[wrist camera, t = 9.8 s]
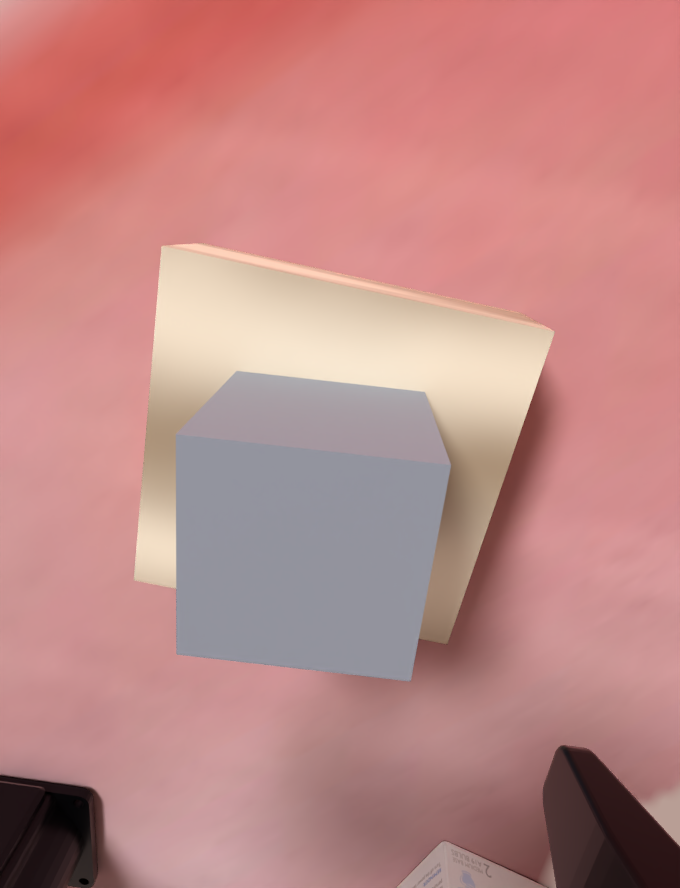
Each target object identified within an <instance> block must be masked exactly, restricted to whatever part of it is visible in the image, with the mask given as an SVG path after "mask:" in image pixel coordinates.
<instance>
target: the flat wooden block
mask: <svg viewBox="0 0 680 888" xmlns="http://www.w3.org/2000/svg"><path fill="white" fill-rule="evenodd" d="M554 333H555V331H553V330H551V329H549V328H547V327H546V326H544V325H542V324H540V323H538V322H536V321H535V320H533V319H531V318H529V317H527V316H525V315H524V314H522V313H519V312H515V311H510V310H506V309H501V308H497V307H492V306H488V305H483V304H478V303H474V302H469V301H465V300H460V299H456V298H451V297H446V296H442V295H437V294H433V293H428V292H424V291H419V290H414V289H410V288H405V287H401V286H396V285H392V284H387V283H382V282H378V281H373V280H369V279H364V278H360V277H355V276H350V275H346V274H341V273H337V272H332V271H328V270H323V269H318V268H314V267H309V266H305V265H300V264H296V263H291V262H286V261H282V260H277V259H273V258H268V257H264V256H259V255H254V254H250V253H245V252H241V251H236V250H232V249H227V248H223V247H218V246H213V245H209V244H204V243H198V244H182V245H167V246H162V248H161V260H160V272H159V284H158V296H157V308H156V319H155V331H154V343H153V355H152V367H151V379H150V391H149V403H148V415H147V427H146V439H145V451H144V463H143V475H142V487H141V499H140V511H139V523H138V535H137V547H136V559H135V571H134V580H136V581H140V582H145V583H150V584H155V585H160V586H165V587H170V588H174V589H176V433H177V432H178V431H179V430H180V429H181V428H182V427H183V426H184V425H185V424H186V423H187V422H188V421H189V420H190V419H191V418H192V417H193V416H194V415H195V414H196V413H197V412H198V411H199V410H200V409H201V407H202V406H203V405H204V404H205V403H206V402H207V401H208V400H209V399H210V398H211V397H212V396H213V395H214V394H215V393H216V392H217V391H218V390H219V389H220V388H221V387H222V386H223V385H224V384H225V383H226V382H227V380H228V379H229V378H230V377H231V376H232V375H233V374H234V373H235V372H236V371H242V372H251V373H260V374H269V375H278V376H287V377H296V378H305V379H314V380H323V381H332V382H341V383H350V384H359V385H368V386H377V387H386V388H395V389H403V390H412V391H421V392H425V394H426V396H427V399H428V402H429V405H430V408H431V410H432V413H433V416H434V419H435V421H436V424H437V427H438V430H439V433H440V435H441V438H442V441H443V444H444V447H445V449H446V452H447V455H448V458H449V461H450V463H451V468H450V474H449V479H448V484H447V490H446V495H445V501H444V506H443V511H442V517H441V522H440V527H439V533H438V538H437V543H436V549H435V554H434V559H433V565H432V570H431V575H430V581H429V586H428V591H427V597H426V602H425V607H424V613H423V618H422V623H421V629H420V634H419V639H422V640H427V641H432V642H437V643H442V644H448V641H449V638H450V635H451V632H452V629H453V626H454V623H455V621H456V618H457V615H458V612H459V609H460V606H461V603H462V600H463V597H464V594H465V591H466V589H467V586H468V583H469V580H470V577H471V574H472V571H473V568H474V565H475V562H476V560H477V557H478V554H479V551H480V548H481V545H482V542H483V539H484V536H485V533H486V531H487V528H488V525H489V522H490V519H491V516H492V513H493V510H494V507H495V504H496V501H497V499H498V496H499V493H500V490H501V487H502V484H503V481H504V478H505V475H506V472H507V470H508V467H509V464H510V461H511V458H512V455H513V452H514V449H515V446H516V443H517V440H518V438H519V435H520V432H521V429H522V426H523V423H524V420H525V417H526V414H527V411H528V409H529V406H530V403H531V400H532V397H533V394H534V391H535V388H536V385H537V382H538V379H539V377H540V374H541V371H542V368H543V365H544V362H545V359H546V356H547V353H548V350H549V348H550V345H551V342H552V339H553V336H554Z"/></svg>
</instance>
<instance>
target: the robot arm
mask: <svg viewBox="0 0 680 888" xmlns="http://www.w3.org/2000/svg"><path fill="white" fill-rule="evenodd" d="M543 806H544V812H545V818H546V825H547V831H548V837H549V844H550V850H551V856H552V862H553V869H554V875H555V881H556V888H680V846H679V845H678V844H677V843H676V842H675V841H674V840H673V839H672V838H671V836H670V835H669V834H668V833H667V832H666V831H665V830H664V829H663V828H662V827H661V826H660V825H659V823H658V822H657V821H656V820H655V819H654V818H653V817H652V816H651V815H650V814H649V813H648V811H647V810H646V809H645V808H644V807H643V806H642V805H641V804H640V803H639V802H638V800H637V799H636V798H635V797H634V796H633V795H632V794H631V793H630V792H629V791H628V790H627V789H626V787H625V786H624V785H623V784H622V783H621V782H620V781H619V780H618V779H617V778H616V777H615V775H614V774H613V773H612V772H611V771H610V770H609V769H608V768H607V767H606V766H605V765H604V763H603V762H602V761H601V760H600V759H599V758H598V757H597V756H596V755H595V754H594V753H593V752H592V751H590V750H589V749H586V748H581V747H573V746H566V745H562V746H560V747H559V748H558V749H557V750H556V752H555V755H554V758H553V761H552V763H551V766H550V769H549V772H548V775H547V778H546V780H545V783H544V788H543ZM97 875H98V871H97V853H96V836H95V818H94V801H93V795H92V793H91V792H90V791H89V790H87V789H85V788H80V787H73V786H66V785H59V784H52V783H45V782H37V781H30V780H23V779H16V778H9V777H2V776H0V888H67V886H74V887H81V888H90V887H92V886H93V885H94V883H95V880H96V878H97Z"/></svg>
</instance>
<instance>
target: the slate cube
mask: <svg viewBox="0 0 680 888" xmlns="http://www.w3.org/2000/svg"><path fill="white" fill-rule="evenodd" d="M450 468H451V463H450V461H449V458H448V455H447V452H446V449H445V447H444V444H443V441H442V438H441V435H440V433H439V430H438V427H437V424H436V421H435V419H434V416H433V413H432V410H431V408H430V405H429V402H428V399H427V396H426V394H425V392H421V391H412V390H403V389H395V388H386V387H377V386H368V385H359V384H350V383H341V382H332V381H323V380H314V379H305V378H296V377H287V376H278V375H269V374H260V373H251V372H242V371H236V372H235V373H234V374H233V375H232V376H231V377H230V378H229V379H228V380H227V382H226V383H225V384H224V385H223V386H222V387H221V388H220V389H219V390H218V391H217V392H216V393H215V394H214V395H213V396H212V397H211V398H210V399H209V400H208V401H207V402H206V403H205V404H204V405H203V406H202V407H201V409H200V410H199V411H198V412H197V413H196V414H195V415H194V416H193V417H192V418H191V419H190V420H189V421H188V422H187V423H186V424H185V425H184V426H183V427H182V428H181V429H180V430H179V431H178V432H177V433H176V648H177V655H186V656H194V657H203V658H212V659H220V660H229V661H238V662H246V663H255V664H264V665H272V666H281V667H290V668H298V669H307V670H315V671H324V672H333V673H341V674H350V675H359V676H367V677H376V678H385V679H393V680H402V681H411V677H412V672H413V666H414V661H415V655H416V650H417V645H418V639H419V634H420V629H421V623H422V618H423V613H424V607H425V602H426V597H427V591H428V586H429V581H430V575H431V570H432V565H433V559H434V554H435V549H436V543H437V538H438V533H439V527H440V522H441V517H442V511H443V506H444V501H445V495H446V490H447V484H448V479H449V474H450Z"/></svg>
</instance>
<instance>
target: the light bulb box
mask: <svg viewBox="0 0 680 888" xmlns="http://www.w3.org/2000/svg"><path fill="white" fill-rule="evenodd" d="M396 888H547V887H545V886H543V885H541V884H539V883H536V882H534V881H532V880H530V879H528V878H526V877H523V876H521V875H519V874H517V873H515V872H513V871H510V870H508V869H506V868H504V867H502V866H500V865H497V864H495V863H493V862H491V861H489V860H487V859H484V858H482V857H480V856H478V855H476V854H474V853H471V852H469V851H467V850H465V849H463V848H460V847H458V846H456V845H454V844H452V843H450V842H447V841H443V842H441V843H440V844H439V845H438V846H437V847H436V848H435V849H434V850H433V851H432V852H431V853H430V854H429V855H428V856H427V857H426V858H425V859H424V860H423V861H422V862H421V863H420V864H419V865H418V866H417V867H416V868H415V869H414V870H413V871H412V872H411V873H410V874H409V875H408V876H407V877H406V878H405V879H404V880H403V881H402V882H401V883H400V884H399V886H398V887H396Z"/></svg>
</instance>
